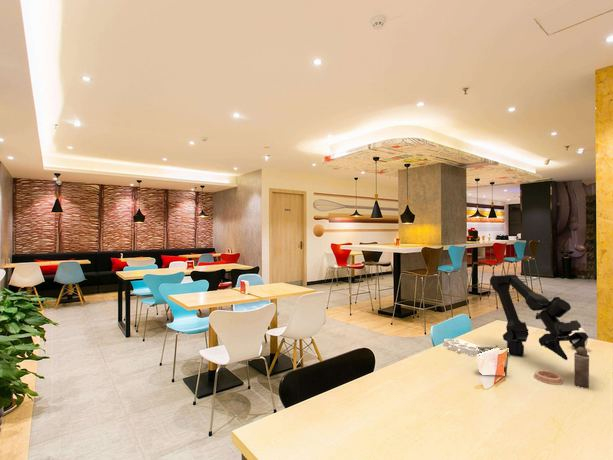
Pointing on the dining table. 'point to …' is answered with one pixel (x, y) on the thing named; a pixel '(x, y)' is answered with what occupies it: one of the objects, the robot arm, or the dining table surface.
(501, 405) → the dining table surface
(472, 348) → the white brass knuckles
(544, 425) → the dining table surface
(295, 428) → the dining table surface
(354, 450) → the dining table surface
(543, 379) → the dish
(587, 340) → the egg
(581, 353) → the pepper mill
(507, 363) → the food container
